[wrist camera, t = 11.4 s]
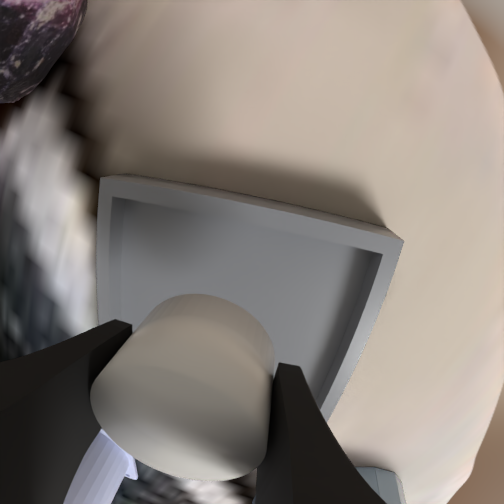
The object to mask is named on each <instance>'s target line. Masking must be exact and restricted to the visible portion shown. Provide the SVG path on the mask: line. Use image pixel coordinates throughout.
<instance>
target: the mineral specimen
mask: <svg viewBox="0 0 504 504" xmlns="http://www.w3.org/2000/svg"><path fill="white" fill-rule="evenodd" d="M86 9H87V0H0V103H10V102H13V103H14V102H15V101H17V100H20V98H22V97H24V96H25V95H27V94H29V93H30V92H31V91H33V90H34V89H35V88H36V86H37V85H38V84H39V83H40V82H41V81H42V80H43V79H44V78H45V77H46V75H47V74H48V72H49V71H50V69H51V68H52V66H53V65H54V64H55V62H56V61H57V60H58V58H59V57H60V56H61V54H62V53H63V52H64V50H65V49H66V48H67V46H68V45H69V44H70V43H71V41H72V40H73V38H74V37H75V35H76V32H77V30H78V28H79V26H80V25H81V23H82V21H83V18H84V16H85V12H86Z"/></svg>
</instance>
